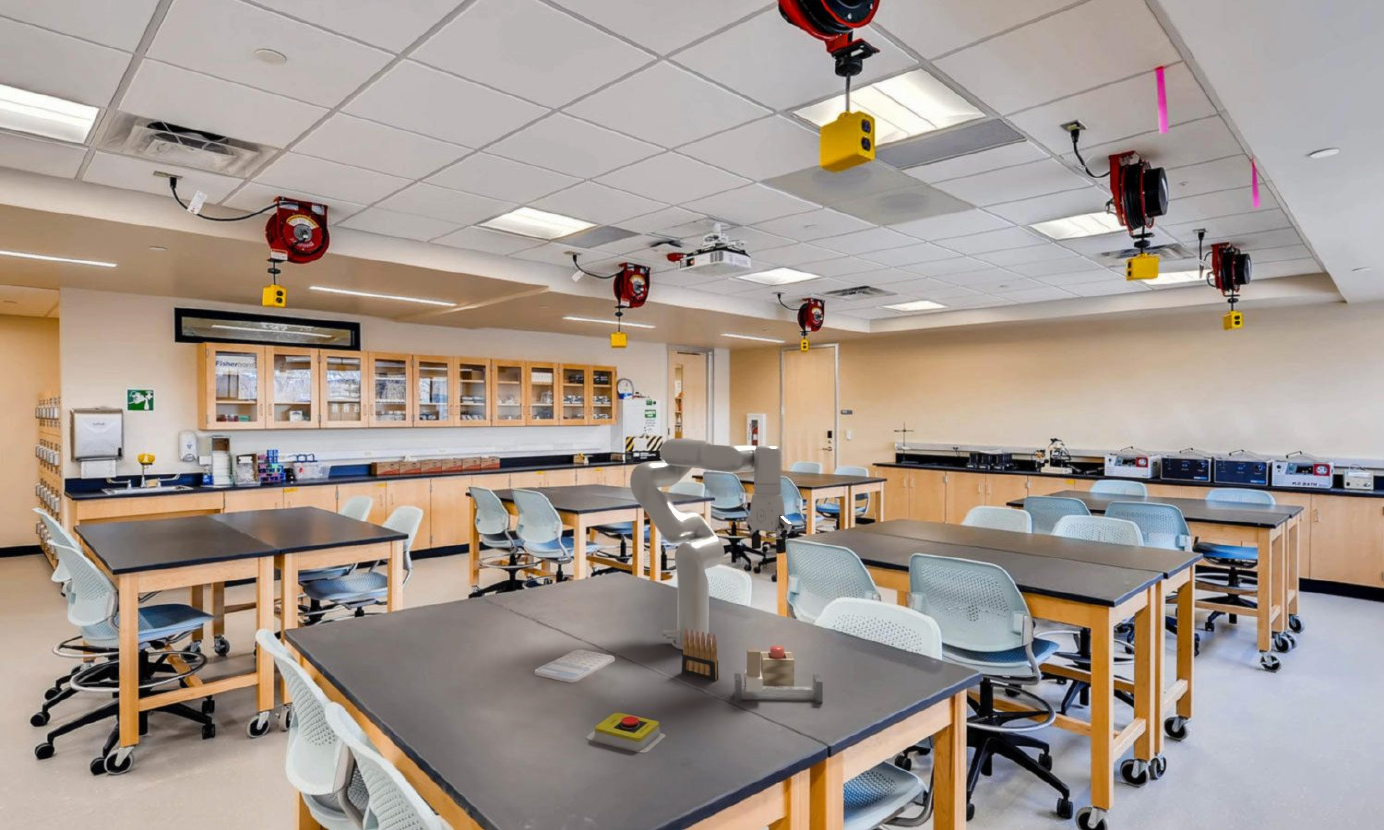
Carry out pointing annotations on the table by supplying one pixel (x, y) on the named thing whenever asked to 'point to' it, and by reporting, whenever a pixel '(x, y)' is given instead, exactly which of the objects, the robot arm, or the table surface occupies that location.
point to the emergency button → (627, 732)
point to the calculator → (574, 666)
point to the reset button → (777, 652)
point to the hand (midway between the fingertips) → (768, 550)
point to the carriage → (753, 671)
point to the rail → (780, 691)
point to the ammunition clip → (700, 657)
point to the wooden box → (777, 670)
